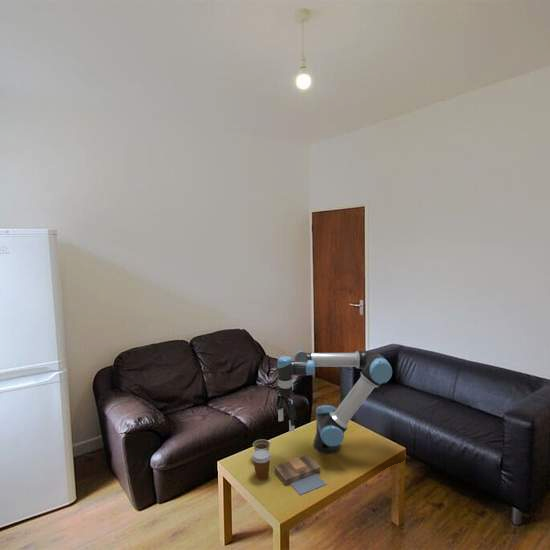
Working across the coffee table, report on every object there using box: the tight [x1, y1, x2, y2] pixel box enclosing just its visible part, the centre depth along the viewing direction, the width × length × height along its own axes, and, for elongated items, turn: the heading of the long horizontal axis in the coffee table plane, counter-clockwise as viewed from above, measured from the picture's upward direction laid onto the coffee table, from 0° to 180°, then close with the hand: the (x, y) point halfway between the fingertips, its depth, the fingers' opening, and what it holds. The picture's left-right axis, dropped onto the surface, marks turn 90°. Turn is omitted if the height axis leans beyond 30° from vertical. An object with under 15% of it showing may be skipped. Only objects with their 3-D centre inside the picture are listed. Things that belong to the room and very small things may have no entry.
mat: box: [289, 474, 327, 496], centre depth 176 cm, size 15×9×1 cm, turn 117°
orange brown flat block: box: [286, 456, 306, 473], centre depth 185 cm, size 6×9×2 cm, turn 27°
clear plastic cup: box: [252, 439, 271, 452], centre depth 196 cm, size 9×9×9 cm
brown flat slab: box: [273, 454, 321, 486], centre depth 185 cm, size 20×12×3 cm, turn 117°
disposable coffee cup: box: [251, 449, 272, 481], centre depth 182 cm, size 10×10×12 cm
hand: (286, 425), depth 192 cm, fingers open, 11 cm apart
